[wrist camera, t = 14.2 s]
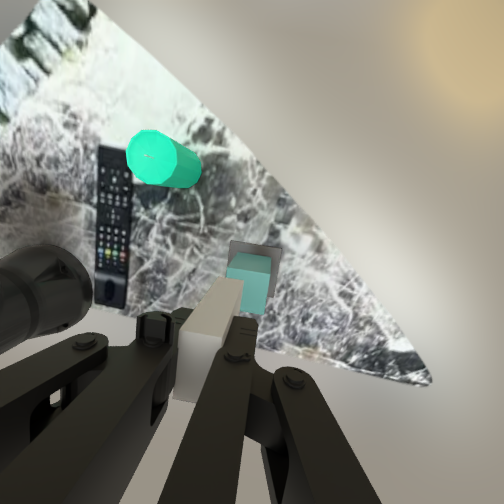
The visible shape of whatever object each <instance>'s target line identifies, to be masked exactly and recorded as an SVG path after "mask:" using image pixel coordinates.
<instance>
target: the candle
mask: <svg viewBox="0 0 504 504" xmlns="http://www.w3.org/2000/svg"><path fill="white" fill-rule="evenodd" d="M126 156H127V164H128V166H129V168H130V169H131V170H132V172H133V173H134V174H135V176H136V177H137V178H138V179H140V180H142V181H143V182H145V183H146V184H151V185H158V186H166V187H173V188H190V187H191V186H193V185H194V184H196V183H197V182H198V180H199V178H200V175H201V173H202V172H201V162H200V160H199V158H198V157H197V155H196V153H194V152H192V151H191V150H189V149H187V148H186V147H184V146H182V145H181V144H179V143H177V142H176V141H174V140H173V139H171V138H169V137H167V136H166V135H164V134H162V133H160V132H159V131H157V130H141V131H140V132H139V133H137V134H136V135H135V136H134V137H132V138H131V141H130V143H129V145H128V147H127V150H126Z"/></svg>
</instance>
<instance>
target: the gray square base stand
mask: <svg viewBox="0 0 504 504" xmlns="http://www.w3.org/2000/svg"><path fill="white" fill-rule="evenodd" d="M281 251H282V248H276V247H270V246H264V245H257V244H251V243H244V242H238V241H232V240H231V241H230V249H229V257H228V265H229V264H230V263H231V261H232V260H233V258H234V257H235V256H236V254H237V253H238V252H241V253H248V254H254V255H260V256H266V257H271V273H270V280H269V286H268V292H267V297H272V298H274V292H275V286H276V280H277V274H278V268H279V262H280V256H281ZM228 265H227V267H228ZM226 273H227V272H226Z"/></svg>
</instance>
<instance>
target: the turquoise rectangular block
mask: <svg viewBox="0 0 504 504" xmlns="http://www.w3.org/2000/svg"><path fill="white" fill-rule="evenodd" d="M270 273H271V257H266V256H260V255H254V254H248V253H241V252H238V253H237V254H236V256H235V257H234V258H233V260H232V261H231V263H230V264H229V265H228V267H227V273H226V278H232V279H238V280H244V285H243V291H242V298H241V305H240V311H244V312H250V313H255V314H261V315H264V310H265V304H266V298H267V292H268V286H269V280H270Z"/></svg>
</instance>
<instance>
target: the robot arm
mask: <svg viewBox="0 0 504 504" xmlns="http://www.w3.org/2000/svg"><path fill="white" fill-rule="evenodd" d="M243 285H244V280H238V279H232V278H226V277H220V276H219V277H218V278H217V279H216V281H215V282H214V283H213V285H212V286H211V288H210V289H209V290H208V292H207V293H206V294H205V296H204V297H203V298H202V300H201V301H200V302H199V304H198V305H197V307H196V308H195V309H188V308H183V307H181V308H179V309H177V310H174V311H173V312H172V313H171V314H170V313H166V312H159V311H153V312H146V313H143V314H141V315H139V316H137V324H136V339H135V340H134V341H133V342H132V343H131V344H130V345H129V346H108V342H109V341H108V338H107V337H106V336H105V335H103V334H99V333H94V332H92V333H91V332H87V333H84V334H78V335H75V336H72V337H70V338H68V339H66V340H63V341H61V342H59V343H57V344H55V345H53V346H50V347H48V348H46V349H44V350H42V351H40V352H38V353H36V354H33V355H31V356H29V357H27V358H25V359H23V360H21V361H19V362H17V363H15V364H12V365H10V366H8V367H6V368H4V369H1V370H0V504H119V502H120V500H121V498H122V496H123V494H124V492H125V490H126V488H127V486H128V484H129V482H130V480H131V479H132V476H133V475H134V473H135V471H136V469H137V467H138V465H139V463H140V461H141V459H142V457H143V455H144V453H145V451H146V449H147V447H148V445H149V443H150V441H151V439H152V438H153V436H154V434H155V432H156V430H157V428H158V426H159V424H160V422H161V420H162V418H163V416H164V414H165V412H166V410H167V406H168V398H169V394H170V392H171V391H172V389H173V387H174V390H173V399H176V400H181V401H186V402H192V403H196V406H195V408H194V411H193V414H192V416H191V419H190V421H189V424H188V426H187V429H186V431H185V434H184V437H183V439H182V442H181V444H180V447H179V449H178V452H177V455H176V457H175V460H174V462H173V465H172V468H171V470H170V472H169V475H168V478H167V480H166V483H165V485H164V488H163V491H162V493H161V495H160V498H159V501H158V503H157V504H235V501H236V494H237V486H238V478H239V471H240V464H241V463H240V462H241V455H242V448H243V441H244V435H245V436H247V437H249V438H251V439H253V440H254V441H256V442H258V443H260V444H261V453H262V459H263V463H264V469H265V474H266V479H267V484H268V490H269V495H270V500H271V504H382V503H381V501H380V499H379V498H378V496H377V494H376V492H375V490H374V488H373V487H372V485H371V483H370V481H369V479H368V477H367V476H366V474H365V472H364V470H363V468H362V467H361V465H360V463H359V461H358V459H357V457H356V456H355V454H354V452H353V450H352V448H351V446H350V445H349V443H348V441H347V439H346V437H345V436H344V434H343V432H342V430H341V428H340V426H339V425H338V423H337V421H336V419H335V417H334V416H333V414H332V412H331V410H330V408H329V406H328V405H327V403H326V401H325V399H324V397H323V395H322V394H321V392H320V390H319V388H318V386H317V385H316V383H315V381H314V380H313V378H312V377H311V376H310V375H309V374H308V373H306V372H305V371H303V370H301V369H298V368H294V367H281V368H279V369H277V370H276V371H275V373H274V374H273V373H270V372H268V371H267V370H265V369H263V368H262V367H260V366H259V365H258V364H257V363H256V361H255V358H254V354H255V347H256V339H257V331H258V324H257V322H256V320H255V319H251V318H246V317H240V316H239V312H240V305H241V298H242V291H243ZM91 301H92V286H91V282H90V279H89V276H88V274H87V272H86V270H85V269H84V267H83V266H82V264H81V263H80V262H79V261H78V260H77V259H76V258H75V257H74V256H73V255H72V254H70V253H69V252H67V251H66V250H64V249H62V248H59V247H57V246H53V245H47V244H40V245H34V246H28V247H24V248H21V249H18V250H16V251H14V252H12V253H10V254H9V255H7V256H5V257H4V258H2V259H0V355H1V354H2V353H4V352H6V351H8V350H9V349H11V348H13V347H15V346H16V345H18V344H20V343H22V342H23V341H25V340H27V339H31V338H36V337H40V336H45V335H50V334H54V333H58V332H62V331H64V330H66V329H68V328H70V327H71V326H73V325H75V324H76V323H78V322H79V321H80V320H82V319H83V317H84V316H85V315H86V314H87V312H88V310H89V308H90V305H91ZM59 389H60V400H59V401H58V402H56V403H54V404H50V395H51V394H53V393H54V392H56V391H58V390H59Z"/></svg>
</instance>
